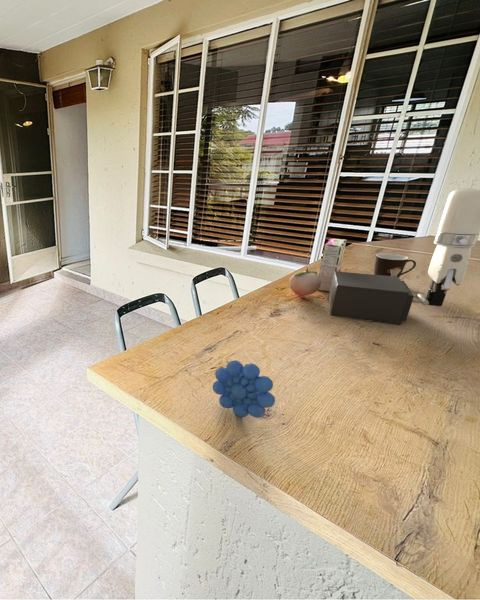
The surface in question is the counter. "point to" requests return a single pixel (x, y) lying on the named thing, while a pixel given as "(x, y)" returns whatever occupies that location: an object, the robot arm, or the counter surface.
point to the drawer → (409, 302)
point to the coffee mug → (391, 265)
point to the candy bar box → (331, 262)
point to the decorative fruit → (305, 282)
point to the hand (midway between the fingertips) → (432, 304)
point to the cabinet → (367, 297)
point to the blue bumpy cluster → (243, 389)
